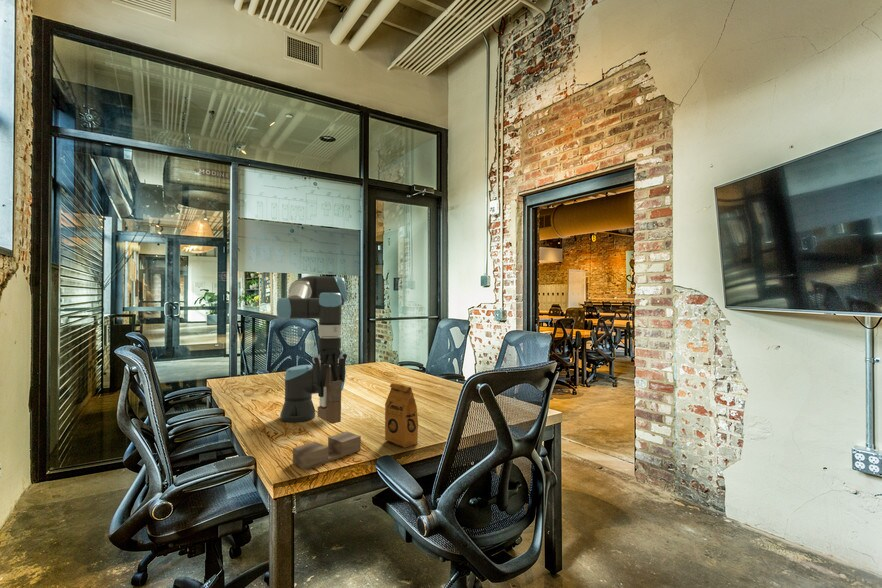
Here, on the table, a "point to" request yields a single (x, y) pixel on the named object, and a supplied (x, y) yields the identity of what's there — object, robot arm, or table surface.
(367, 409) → the table surface
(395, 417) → the coffee package
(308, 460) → the slotted sill
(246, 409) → the table surface
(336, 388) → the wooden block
